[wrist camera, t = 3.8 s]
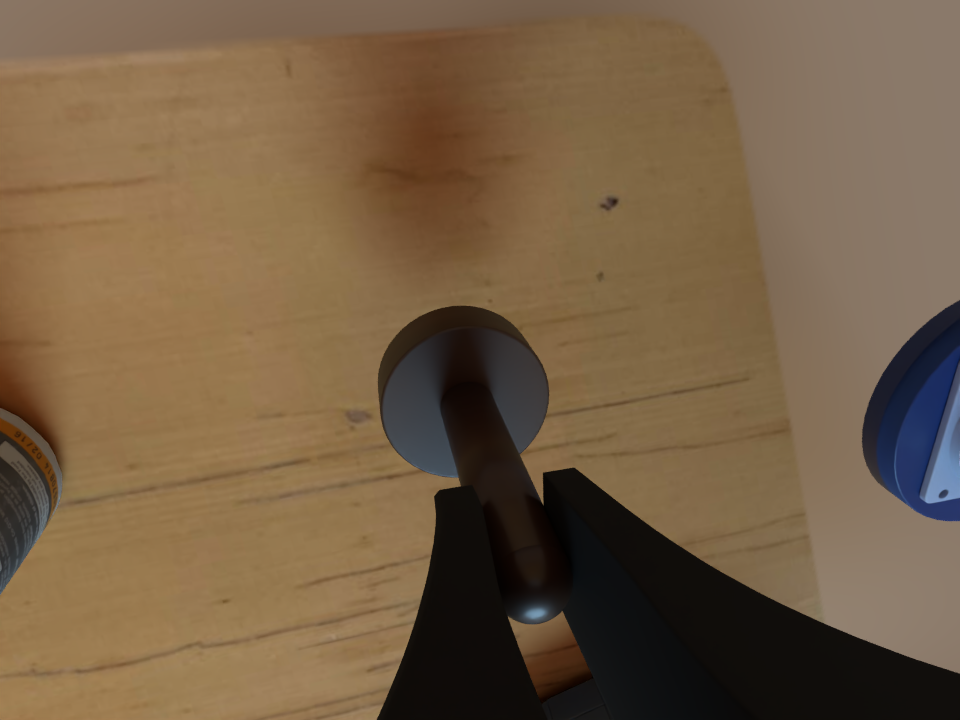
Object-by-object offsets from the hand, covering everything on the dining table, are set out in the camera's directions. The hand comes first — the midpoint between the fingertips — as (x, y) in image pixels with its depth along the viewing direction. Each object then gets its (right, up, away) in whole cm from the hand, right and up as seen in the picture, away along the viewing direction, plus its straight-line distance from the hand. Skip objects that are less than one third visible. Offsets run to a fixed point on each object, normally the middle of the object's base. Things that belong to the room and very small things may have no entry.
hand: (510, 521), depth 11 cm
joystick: (-1, +2, +6) cm, 6 cm away
